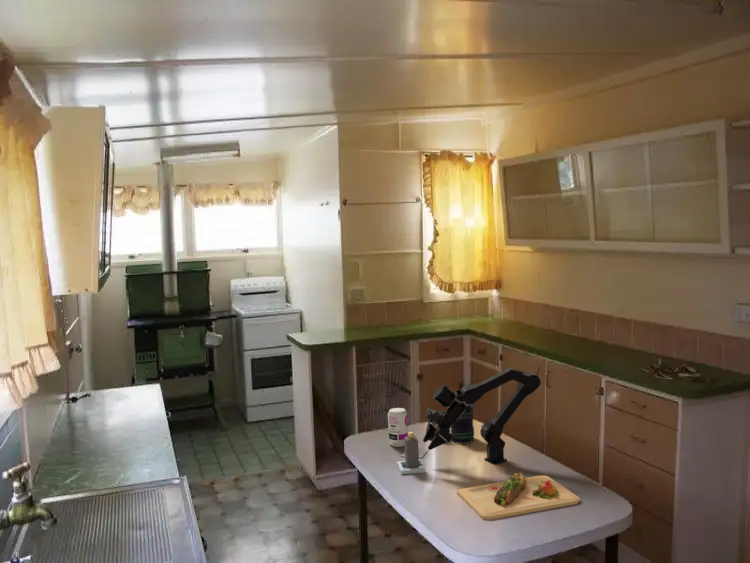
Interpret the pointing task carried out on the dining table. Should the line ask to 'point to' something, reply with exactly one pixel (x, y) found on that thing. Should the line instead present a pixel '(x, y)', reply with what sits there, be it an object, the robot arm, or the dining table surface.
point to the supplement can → (397, 426)
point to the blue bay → (409, 471)
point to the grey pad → (421, 453)
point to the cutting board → (517, 496)
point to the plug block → (411, 451)
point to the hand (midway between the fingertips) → (426, 445)
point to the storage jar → (464, 427)
